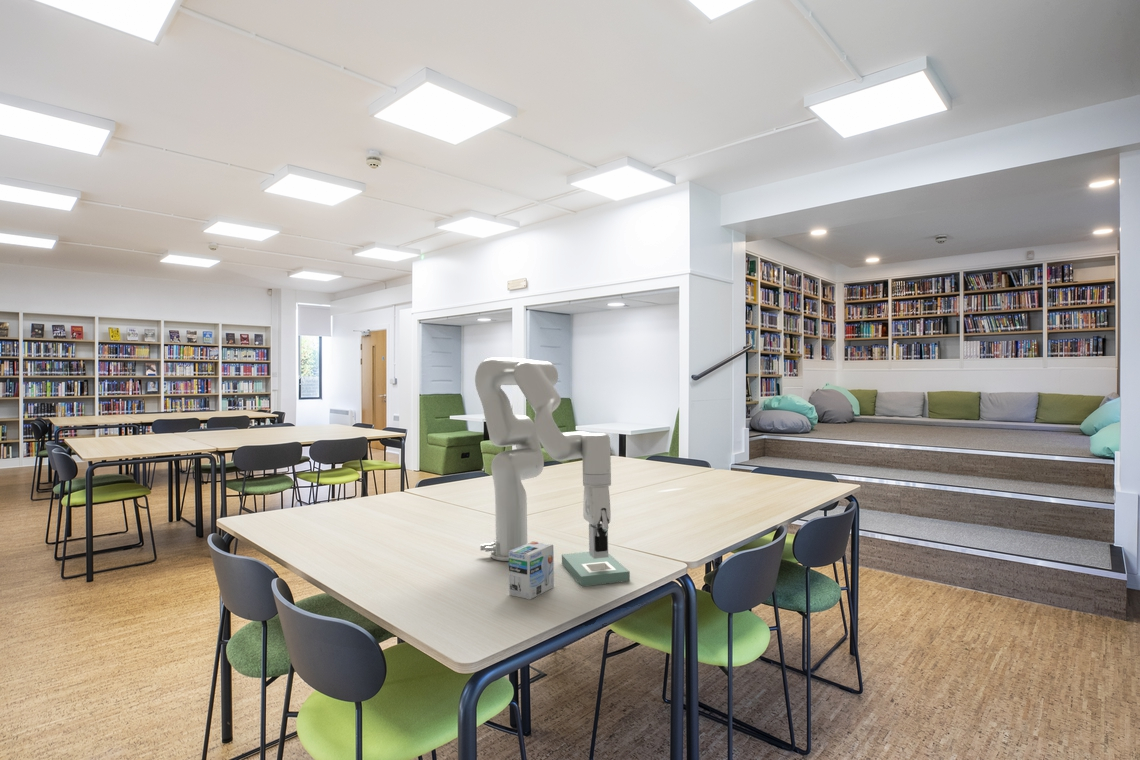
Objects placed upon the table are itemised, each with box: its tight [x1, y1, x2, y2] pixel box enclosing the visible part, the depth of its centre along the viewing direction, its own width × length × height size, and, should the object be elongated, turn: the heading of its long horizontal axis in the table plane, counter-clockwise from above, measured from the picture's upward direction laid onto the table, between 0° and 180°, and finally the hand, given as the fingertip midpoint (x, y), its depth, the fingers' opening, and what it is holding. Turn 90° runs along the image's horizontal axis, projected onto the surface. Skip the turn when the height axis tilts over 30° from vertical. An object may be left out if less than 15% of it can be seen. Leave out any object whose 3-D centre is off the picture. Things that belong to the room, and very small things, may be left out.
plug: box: [588, 522, 609, 559], centre depth 149 cm, size 4×4×8 cm
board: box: [561, 551, 631, 587], centre depth 153 cm, size 13×20×2 cm, turn 15°
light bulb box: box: [508, 541, 555, 600], centre depth 139 cm, size 11×7×11 cm, turn 148°
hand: (598, 547), depth 149 cm, fingers closed on plug, 4 cm apart
